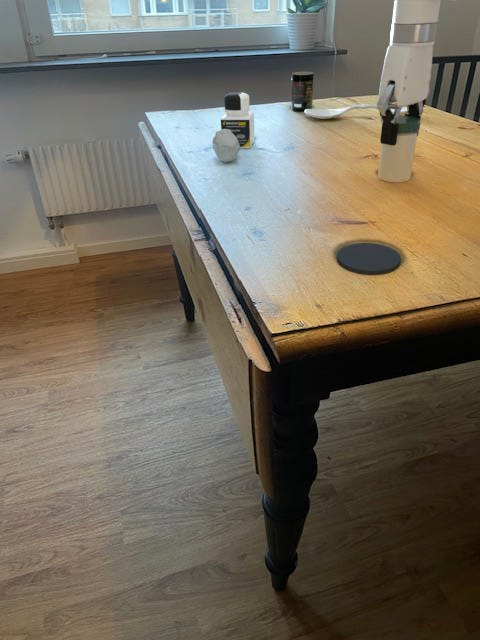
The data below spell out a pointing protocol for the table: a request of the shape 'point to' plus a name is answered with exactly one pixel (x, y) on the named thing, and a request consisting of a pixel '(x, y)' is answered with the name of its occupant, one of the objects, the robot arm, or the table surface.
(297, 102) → the supplement container
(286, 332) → the table surface
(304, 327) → the table surface
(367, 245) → the coaster
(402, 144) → the jar
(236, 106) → the medicine bottle
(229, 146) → the grey rock
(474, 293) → the table surface
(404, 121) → the jar lid
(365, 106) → the spoon
